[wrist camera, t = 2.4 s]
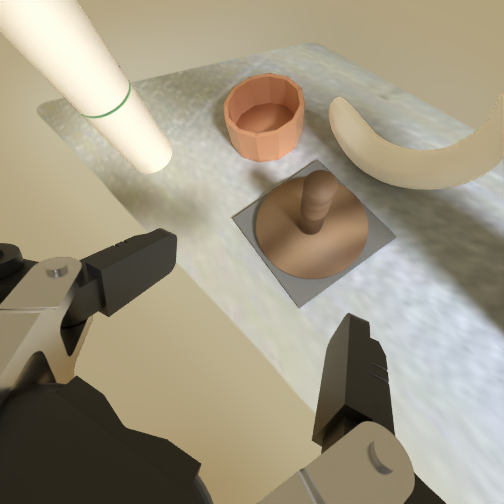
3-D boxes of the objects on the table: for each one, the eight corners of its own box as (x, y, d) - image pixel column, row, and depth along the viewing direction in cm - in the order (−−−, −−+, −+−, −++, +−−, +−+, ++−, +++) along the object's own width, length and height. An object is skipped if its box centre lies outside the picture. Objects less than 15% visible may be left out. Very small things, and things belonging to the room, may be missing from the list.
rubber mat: (394, 238, 29) (396, 236, 28) (299, 308, 28) (299, 308, 27) (317, 161, 34) (317, 159, 33) (233, 219, 33) (232, 218, 32)
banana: (329, 125, 35) (359, -3, 21) (452, 192, 30) (601, 77, 16) (309, 147, 34) (326, 29, 21) (431, 219, 29) (566, 124, 15)
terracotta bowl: (316, 134, 35) (320, 104, 30) (257, 174, 34) (252, 150, 30) (273, 94, 38) (271, 62, 34) (219, 130, 38) (209, 102, 33)
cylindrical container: (160, 130, 40) (-26, -154, 16) (179, 157, 37) (-5, -129, 14) (125, 153, 39) (-120, -104, 15) (142, 181, 37) (-114, -69, 13)
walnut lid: (390, 236, 28) (443, 193, 19) (300, 302, 28) (307, 292, 18) (317, 163, 33) (330, 99, 23) (237, 218, 32) (217, 176, 23)
